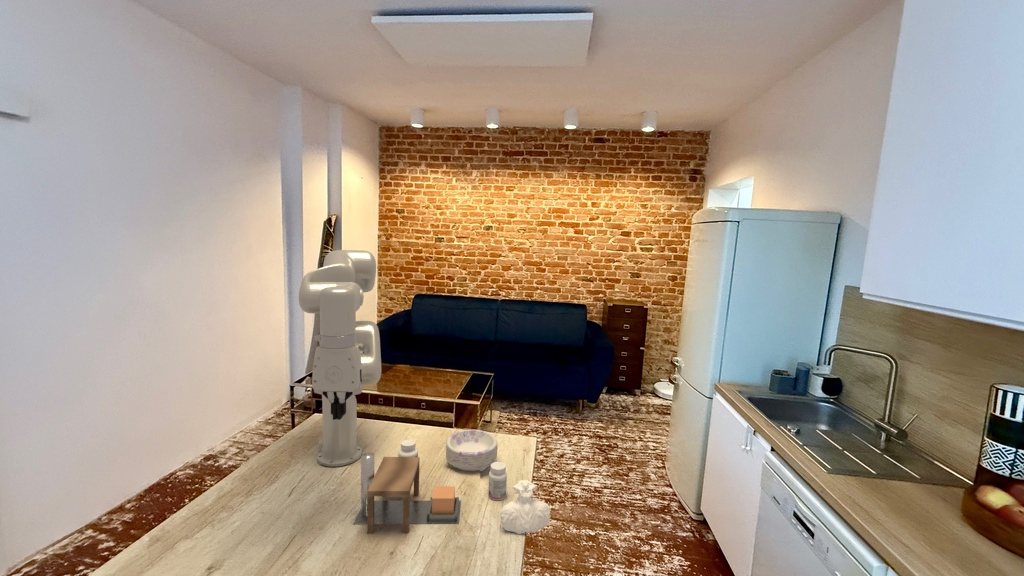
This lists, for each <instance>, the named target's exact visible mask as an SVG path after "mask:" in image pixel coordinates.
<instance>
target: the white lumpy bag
mask: <svg viewBox="0 0 1024 576" xmlns="http://www.w3.org/2000/svg"><path fill="white" fill-rule="evenodd" d="M537 487H538V485H537V484H534V483H532V482H530V480H527V479H521V480H518V481H517V483H516V484H515V485H514V486H512V489H513V490H514V492H515V494H516V495H517V494H518V497H516V501H515V500H512V501H510V502H508V503H506V504H505V505H504V506H503V507H502V508H501V509H500V512H499V514H500V520H501V523H502V526H503V529H504V531H508V532H513V533H515V534H518V535H521V534H530V533H532V534H534V533H536V532H538V531H539V530H541V529H544V528H546V527H547V526H548V525H549V521H550V516H551V508H550V506H549V505H548V504H547V503H546V502H543V501H541V499H533V496H534V492H536V491H537V490H536V489H537ZM525 532H526V533H525Z"/></svg>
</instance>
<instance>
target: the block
mask: <svg viewBox="0 0 1024 576" xmlns="http://www.w3.org/2000/svg"><path fill="white" fill-rule="evenodd" d="M431 497H432V514H454V507H455V497H456V485H453V486H452V485H451V486H450V485H447V486H444V485H442V486H438V485H437V486H436V485H435V486H434V488H433V493H432V496H431Z"/></svg>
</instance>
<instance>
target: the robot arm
mask: <svg viewBox="0 0 1024 576" xmlns="http://www.w3.org/2000/svg"><path fill="white" fill-rule="evenodd" d="M376 261H377V260H376V259H375V256H374V254H373V253H372V252H370V251H369V250H355V249H354V250H353V249H349V250H348V249H337V250H332V251H330V252H328V253H327V254H326V255H325V257H324V259H323V264H322V267H319V268H316V269H314V270H311V271H310V272H308V273H306V274H305V275H304V276H303V278H302V280H301V283H300V287H299V291H298V305H299V307H300V308H301V310H302V311H303V312H304V313H307V314H319V333H318V334H314V336H313V341H315V342H318V346H316V348H315V351H314V352H315V353H314V357H313V358H314V359H313V366H312V376H311V385H312V386H311V387H312V389H313V393H314V394H318V395H321V400H322V405H321V406H322V438H321V439H319V440H318V444H319V445H321V451H319V452H318V454H317V456H316V460H317V463H318V464H319V465H320V466H321V465H322V466H323V467H324V466H325V467H333V468H334V467H335V468H336V467H342V466H347V465H350V464H352V463H355V462H356V461H358V460H359V459H361V455H362V454H363V449H362V447H361V446H360V445H357V441H358V440H357V438H358V436H357V432H358V431H357V430H358V429H357V428H358V427H357V425H358V424H357V420H358V418H357V413H358V412H357V410H358V408H357V407H358V405H357V398H356V395H360V394H361V393H362V392H363V391H364V390H363V386H365V385H366V386H367V385H368V386H369V385H374V384H376V383H378V382H379V381H380V380H381V377H382V357H381V356H382V355H381V354H382V353H381V337H380V330H379V326H378V324H377V323H376V322H374V321H371V320H357V319H356V318H357V316H356V313H357V311H358V310H359V309H360V308H361V306H362V305H363V303H364V293H370V292H371V291H372V290H373V289H374V287H375V282H376V276H377V275H376V274H377V262H376ZM362 352H363V353H362Z"/></svg>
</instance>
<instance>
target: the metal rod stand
mask: <svg viewBox="0 0 1024 576" xmlns="http://www.w3.org/2000/svg"><path fill="white" fill-rule="evenodd" d="M374 476H375V453H374V452H372V451H368V452H364V453H362V455H361V457H360V509H359V511H358V513H357V516H356V518H355V520H354V522H353V525H358V526H359V525H367V491H368V489H369V487H370V485H371V483H372V481H373V478H374ZM432 497H433V496H431V497H430V499H429V500H410V522H409V525H459V524H460V517H461V507H462V506H461V505H462V500H460V497H459V496H457V497H456V496H455V507H454V514H432ZM375 525H379V526H380V525H381V526H382V525H386V526H387V525H403V500H374V526H375Z"/></svg>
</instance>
